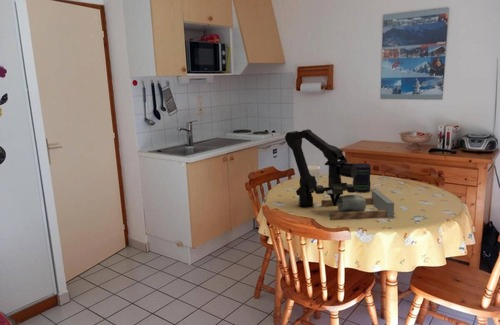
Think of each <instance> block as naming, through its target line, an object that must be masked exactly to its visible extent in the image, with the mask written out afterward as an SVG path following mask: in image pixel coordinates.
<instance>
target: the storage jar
mask: <svg viewBox="0 0 500 325" xmlns="http://www.w3.org/2000/svg"><path fill="white" fill-rule="evenodd" d="M355 166H356V168H357V174H356V176H355V177H354V178H352V180H353V181H352V185H353V186H354V187H355V193H360V194H366V193H370V192H371V185H372V184H371V174H372V168H371V167H372V166H371V164H370V163H355Z"/></svg>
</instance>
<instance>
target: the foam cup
mask: <svg viewBox="0 0 500 325" xmlns="http://www.w3.org/2000/svg"><path fill="white" fill-rule="evenodd" d="M307 167H308V170H309V173H310V175H311V176H315V179H316V182H317V185H319V181H320V173H321V167H320V166H318V165H307Z"/></svg>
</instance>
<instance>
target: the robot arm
mask: <svg viewBox="0 0 500 325" xmlns="http://www.w3.org/2000/svg"><path fill="white" fill-rule="evenodd" d="M284 139H285V142H286V144H287V147H289V148H290V149H291V151H292V153H293V156H294V160H295V164H296V166H297V170H298V173H299V188H298V189H296V191H295V193H296V195H297V196H298V206H299V208H311V207H313V205H314V197H313V194H314V193H315V194H316V195H323V194H324V193H326V195H327V196H329V197H330V200H332V203H333V206H332V207H336V206H335V205H336V203H337V200H338V198H339V196H344V193H343V192H345V191H347V193H349V194H353V193H356V192H355V187H354V186H353V183H349V184H348V183H347V182H342V177H346V178H352V179H353V178H354V177H355V176H356V174H357V168H356V166H355V164H356V163H355V162H348V160H347V158H346V156H345V155H344V154H343V150H342V149H341V148H339V147H337V146H335V145H331V144H329V143H328V142H326V141H325V140H324V139H322V138H321V137H320V136H318V135H317V134H315V133H314V132H313V131H312V130H311V129H309V128H308V129H303V130H301V131H299V130H292V131H289V132H287V133H286V134H285V136H284ZM303 139H305V140H306V141H308V142H309V143H310V144H311V145H312V146H314V147H315V148H317V149H318V150H319V151H321V153H322V155H323V156H324V158H325V159H326V160H327V161H326V162H325V163H324V166H328V175H327V176H328V177H327V178H328V185H327V186H328V187H327V186H325V187H324V185H321V184H320V185H319V184H318V185H317V182H316V179H315V176H311V175H310V173H309V170H308V167H307V166H308V164H307V160H306V158H305V154H304V152H303V151H304V150H303V148H302V146H303ZM313 208H314V207H313Z"/></svg>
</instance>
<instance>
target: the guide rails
mask: <svg viewBox="0 0 500 325" xmlns="http://www.w3.org/2000/svg"><path fill="white" fill-rule="evenodd" d="M364 198H365V200H366V205H373V198H371V197H364ZM321 207H338V206H337V203H336V205H335V206H333V203H332V200H331V199H321ZM379 218H380V219H381V218H387V211H386V210H378V209H377V210H364V211H356V212H355V211H346V212H341V211H337V212H330V213H329V219H330V221H335V220H336V221H339V220H353V219H354V220H355V219H356V220H357V219H358V220H359V219H360V220H362V219H379Z"/></svg>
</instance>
